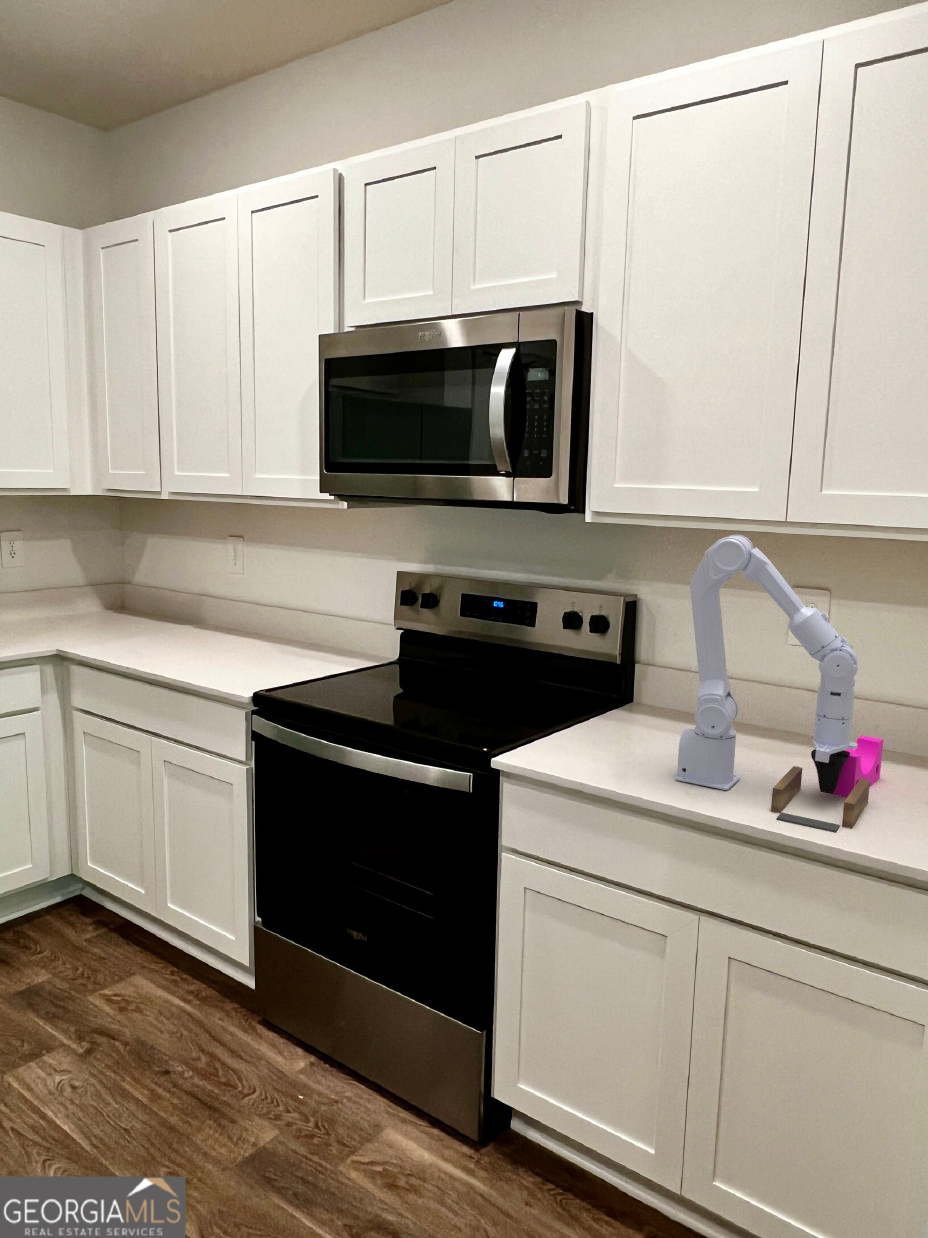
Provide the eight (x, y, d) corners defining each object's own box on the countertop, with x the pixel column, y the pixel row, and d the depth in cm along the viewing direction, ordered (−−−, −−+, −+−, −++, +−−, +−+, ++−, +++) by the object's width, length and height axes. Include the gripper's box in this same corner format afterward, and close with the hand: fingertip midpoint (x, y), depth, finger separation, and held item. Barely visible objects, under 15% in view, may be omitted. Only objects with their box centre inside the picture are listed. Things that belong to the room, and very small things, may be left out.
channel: (770, 811, 148) (772, 787, 148) (791, 787, 160) (793, 766, 159) (852, 828, 141) (854, 804, 141) (867, 803, 153) (870, 780, 152)
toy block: (844, 771, 170) (848, 732, 169) (879, 778, 166) (883, 739, 165) (816, 790, 159) (819, 749, 157) (852, 799, 155) (856, 757, 153)
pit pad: (776, 819, 145) (776, 818, 144) (781, 814, 147) (781, 812, 147) (835, 832, 140) (836, 830, 140) (839, 826, 142) (839, 825, 142)
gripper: (850, 728, 144) (843, 809, 146) (867, 710, 156) (860, 785, 158) (805, 721, 148) (798, 800, 150) (824, 704, 160) (818, 777, 162)
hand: (827, 792), depth 155 cm, fingers closed
